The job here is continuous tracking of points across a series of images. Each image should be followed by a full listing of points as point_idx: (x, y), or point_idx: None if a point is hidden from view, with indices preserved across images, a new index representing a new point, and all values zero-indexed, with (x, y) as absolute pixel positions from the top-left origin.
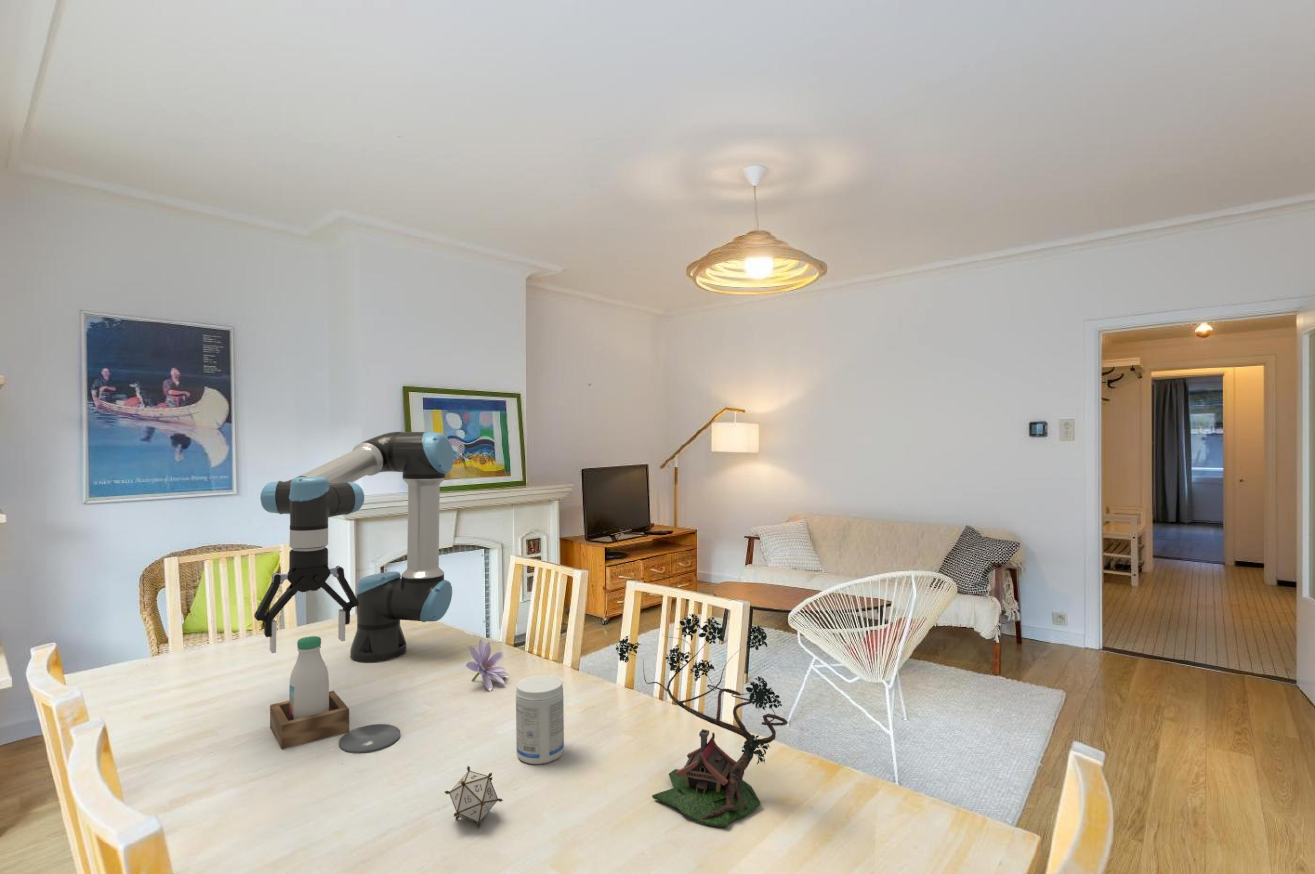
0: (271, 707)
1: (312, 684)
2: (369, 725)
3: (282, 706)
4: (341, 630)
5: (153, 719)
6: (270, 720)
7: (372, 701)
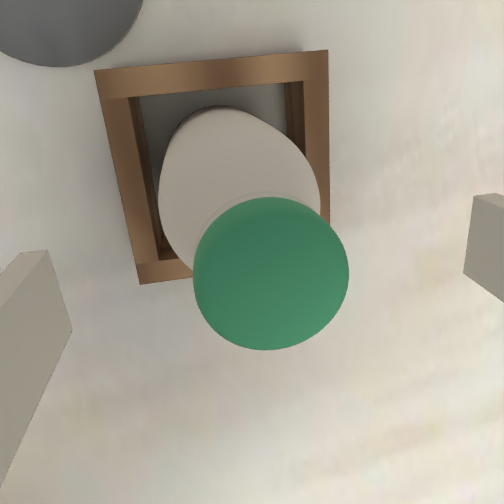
0: None
1: (234, 120)
2: (38, 61)
3: None
4: (18, 295)
5: (498, 391)
6: None
7: None
